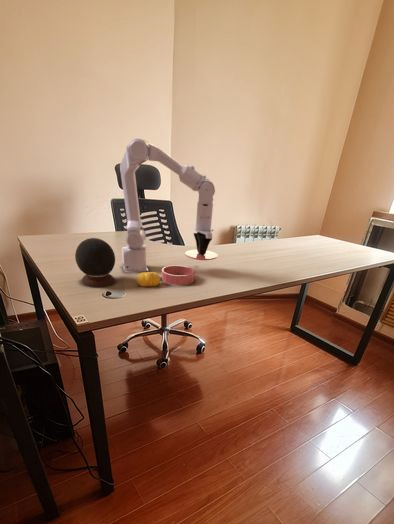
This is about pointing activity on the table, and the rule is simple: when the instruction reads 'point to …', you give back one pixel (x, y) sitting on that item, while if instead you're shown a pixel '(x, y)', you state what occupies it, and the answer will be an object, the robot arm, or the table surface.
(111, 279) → the dark ball on stand
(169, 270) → the pot
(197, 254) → the lid
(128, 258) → the robot arm
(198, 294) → the table surface
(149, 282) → the yellow rounded oblong piece
